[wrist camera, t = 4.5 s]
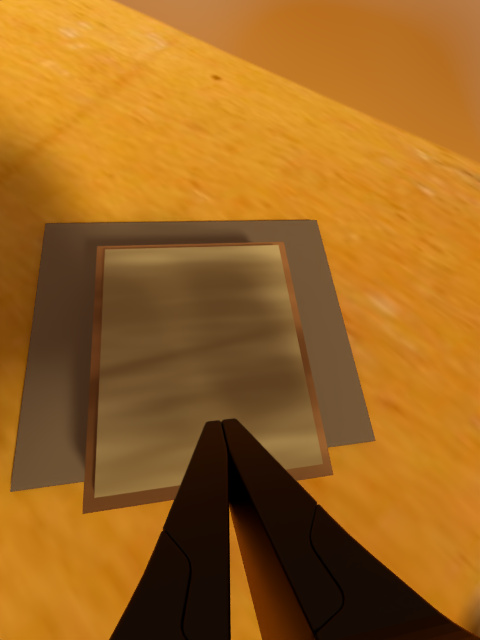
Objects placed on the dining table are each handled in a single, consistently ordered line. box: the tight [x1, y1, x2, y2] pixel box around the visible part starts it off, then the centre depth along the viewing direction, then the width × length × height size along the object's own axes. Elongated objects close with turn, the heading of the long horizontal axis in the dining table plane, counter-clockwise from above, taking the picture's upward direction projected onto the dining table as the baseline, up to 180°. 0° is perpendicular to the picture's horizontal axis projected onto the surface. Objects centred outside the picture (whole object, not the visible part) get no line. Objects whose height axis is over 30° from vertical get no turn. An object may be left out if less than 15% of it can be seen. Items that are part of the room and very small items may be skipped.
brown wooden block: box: [83, 242, 333, 514], centre depth 16 cm, size 3×10×12 cm
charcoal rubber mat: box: [10, 220, 375, 492], centre depth 19 cm, size 15×18×1 cm
